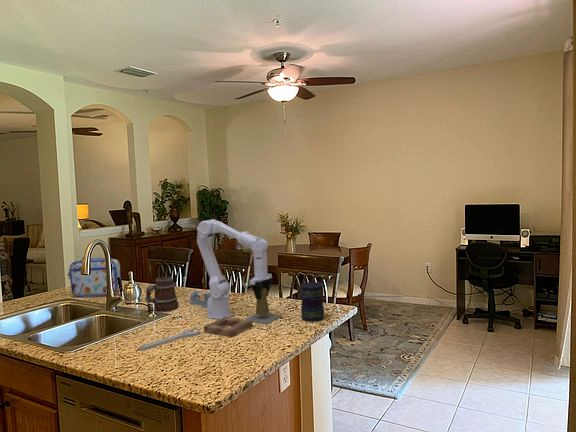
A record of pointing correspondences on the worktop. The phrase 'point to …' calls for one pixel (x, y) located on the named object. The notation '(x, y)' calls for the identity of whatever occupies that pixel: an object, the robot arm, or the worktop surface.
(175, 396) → the worktop surface
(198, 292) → the vise
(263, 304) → the olive brown rounded piece
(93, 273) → the lunch box
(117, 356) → the worktop surface
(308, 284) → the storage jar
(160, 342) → the adjustable wrench
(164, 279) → the mug
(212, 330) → the walnut holder
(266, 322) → the rubber mat
